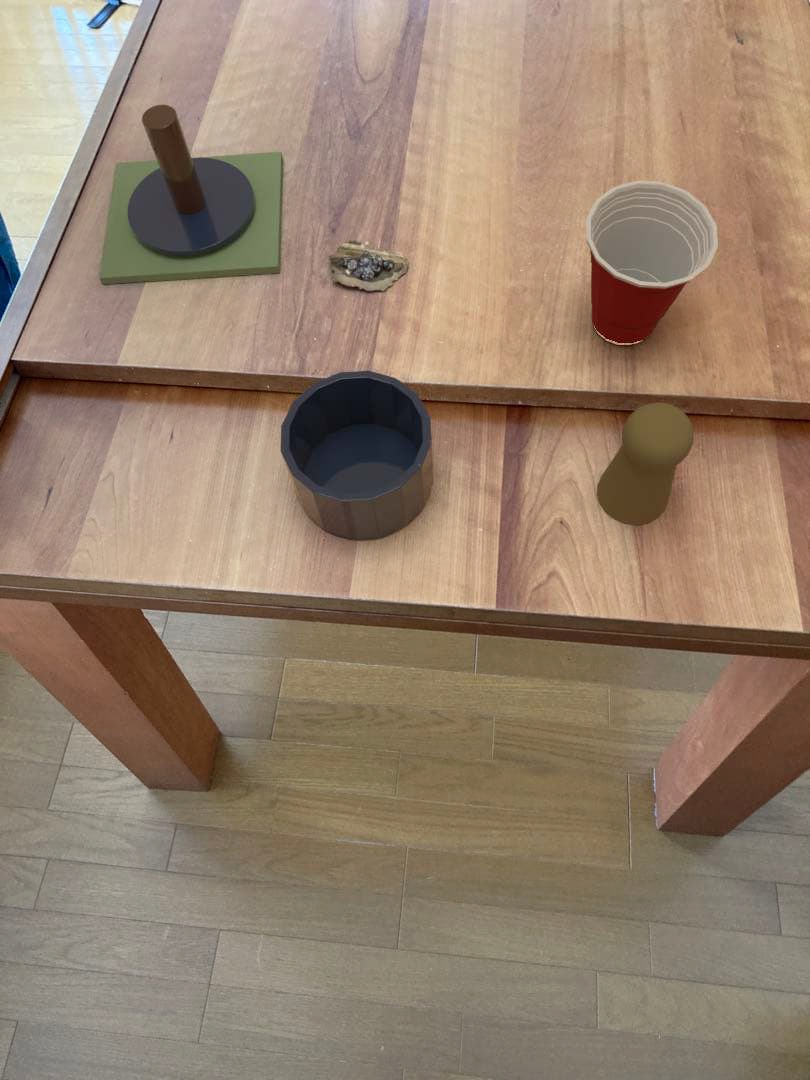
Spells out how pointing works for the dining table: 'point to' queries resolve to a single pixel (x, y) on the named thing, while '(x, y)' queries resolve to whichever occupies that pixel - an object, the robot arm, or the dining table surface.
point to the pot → (359, 454)
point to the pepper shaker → (645, 464)
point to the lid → (186, 194)
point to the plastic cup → (644, 254)
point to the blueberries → (366, 266)
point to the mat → (237, 257)
